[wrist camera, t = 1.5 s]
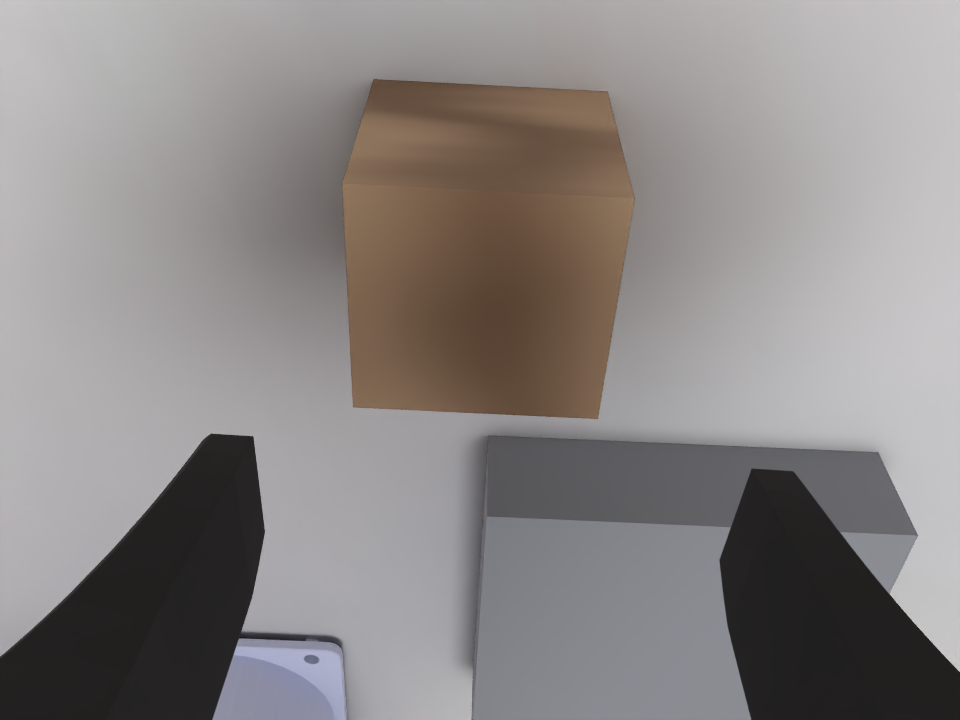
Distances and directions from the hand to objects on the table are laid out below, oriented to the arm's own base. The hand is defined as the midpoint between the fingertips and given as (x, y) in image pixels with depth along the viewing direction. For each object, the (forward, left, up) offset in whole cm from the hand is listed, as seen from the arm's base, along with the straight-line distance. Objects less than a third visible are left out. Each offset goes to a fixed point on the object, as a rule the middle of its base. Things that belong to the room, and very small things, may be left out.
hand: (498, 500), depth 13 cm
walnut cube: (0, 0, -10) cm, 10 cm away
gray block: (+6, -13, -10) cm, 17 cm away
